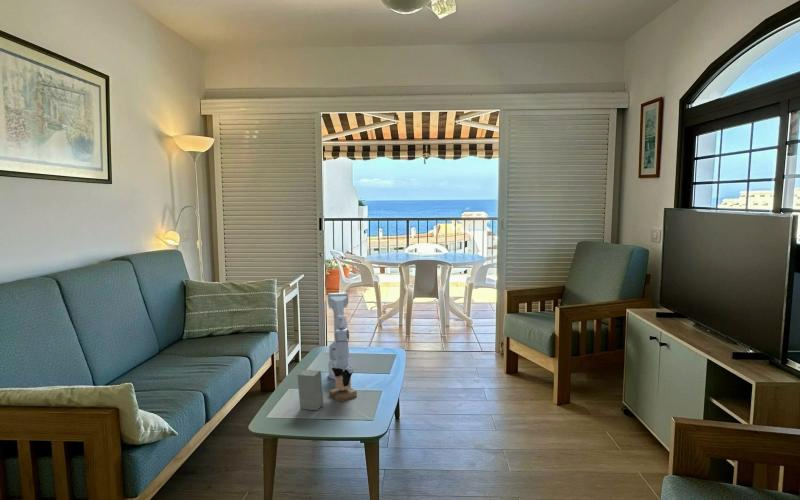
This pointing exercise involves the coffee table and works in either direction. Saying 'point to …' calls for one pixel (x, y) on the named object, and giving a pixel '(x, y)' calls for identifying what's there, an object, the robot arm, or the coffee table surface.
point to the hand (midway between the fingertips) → (342, 384)
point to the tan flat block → (342, 394)
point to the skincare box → (310, 389)
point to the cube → (341, 383)
